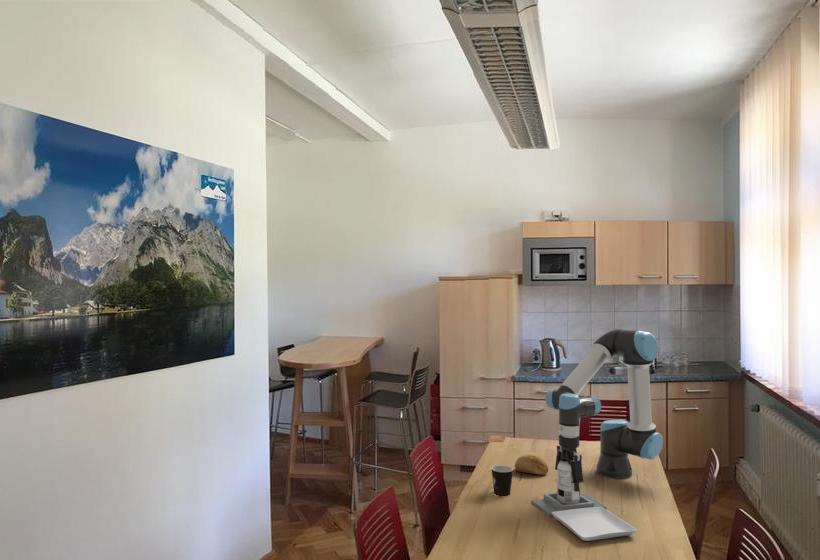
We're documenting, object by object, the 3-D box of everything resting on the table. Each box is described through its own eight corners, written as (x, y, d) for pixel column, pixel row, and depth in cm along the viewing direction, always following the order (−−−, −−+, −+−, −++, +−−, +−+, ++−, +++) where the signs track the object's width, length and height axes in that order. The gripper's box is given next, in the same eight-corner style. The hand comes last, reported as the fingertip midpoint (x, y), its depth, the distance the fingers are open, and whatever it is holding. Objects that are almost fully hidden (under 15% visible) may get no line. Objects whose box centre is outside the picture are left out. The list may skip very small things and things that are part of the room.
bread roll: (545, 479, 257) (545, 460, 257) (511, 473, 263) (511, 455, 263) (550, 472, 265) (550, 454, 265) (517, 467, 272) (517, 450, 272)
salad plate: (638, 539, 200) (638, 528, 200) (583, 547, 194) (583, 536, 193) (601, 514, 220) (601, 505, 220) (549, 521, 214) (549, 511, 214)
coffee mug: (512, 498, 234) (512, 473, 234) (490, 496, 236) (490, 471, 236) (513, 487, 246) (513, 463, 246) (492, 486, 247) (492, 462, 247)
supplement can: (554, 498, 230) (554, 459, 230) (575, 497, 231) (575, 459, 231) (561, 506, 222) (561, 466, 222) (582, 505, 223) (583, 465, 223)
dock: (585, 496, 237) (585, 488, 237) (606, 509, 223) (606, 501, 223) (531, 502, 230) (531, 494, 230) (549, 516, 217) (549, 508, 217)
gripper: (546, 429, 236) (545, 486, 236) (575, 443, 215) (575, 506, 215) (562, 427, 238) (562, 484, 238) (593, 442, 217) (593, 504, 218)
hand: (568, 494), depth 227 cm, fingers open, 8 cm apart
